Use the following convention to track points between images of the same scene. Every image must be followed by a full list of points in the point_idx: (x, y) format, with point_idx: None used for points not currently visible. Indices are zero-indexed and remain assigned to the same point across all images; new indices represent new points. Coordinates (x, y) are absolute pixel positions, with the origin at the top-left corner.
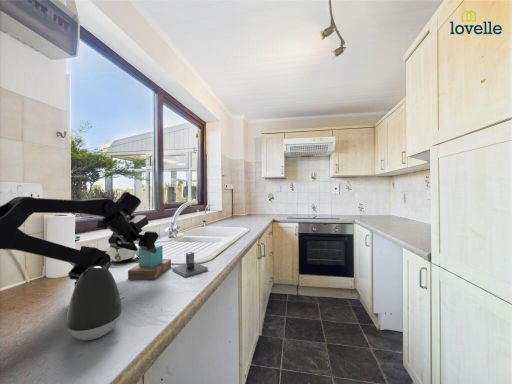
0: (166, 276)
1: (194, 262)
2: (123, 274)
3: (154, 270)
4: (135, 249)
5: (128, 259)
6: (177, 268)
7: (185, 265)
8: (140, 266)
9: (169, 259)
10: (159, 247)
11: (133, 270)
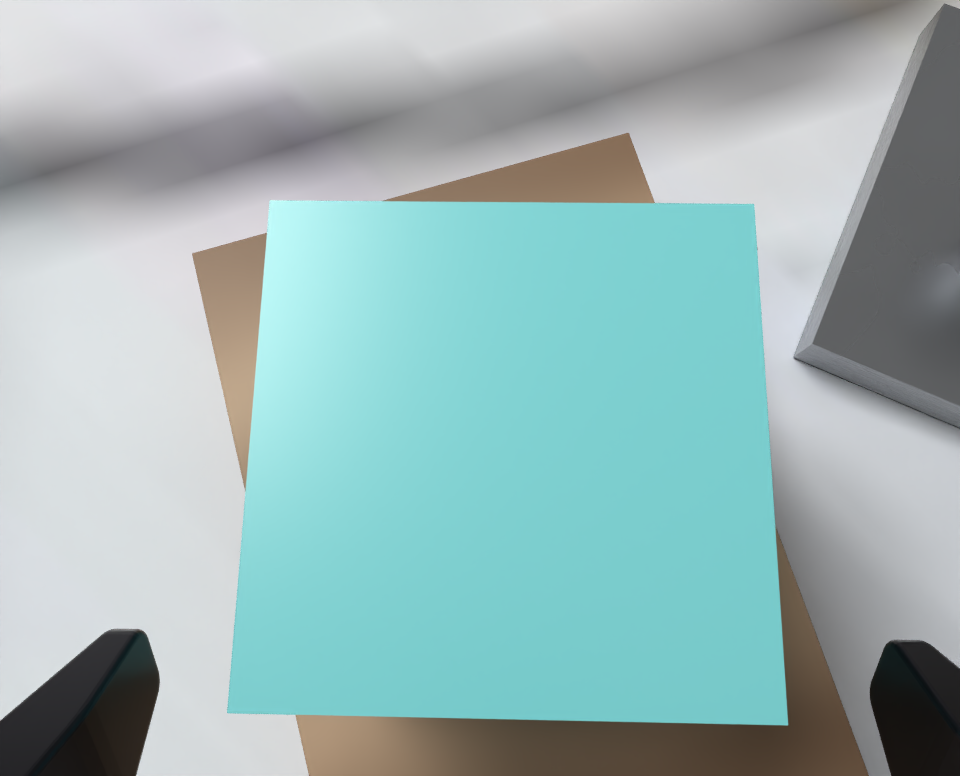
0: (890, 585)
1: (952, 13)
2: (142, 753)
3: (849, 767)
4: (129, 736)
5: None
6: (914, 338)
7: (925, 177)
8: None
9: (614, 152)
10: (755, 342)
11: None
